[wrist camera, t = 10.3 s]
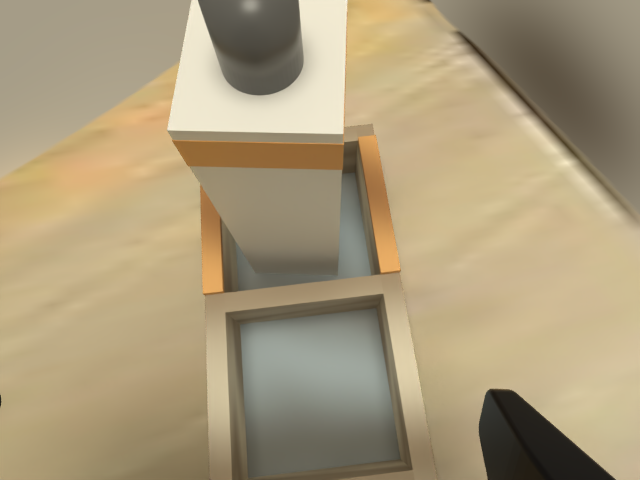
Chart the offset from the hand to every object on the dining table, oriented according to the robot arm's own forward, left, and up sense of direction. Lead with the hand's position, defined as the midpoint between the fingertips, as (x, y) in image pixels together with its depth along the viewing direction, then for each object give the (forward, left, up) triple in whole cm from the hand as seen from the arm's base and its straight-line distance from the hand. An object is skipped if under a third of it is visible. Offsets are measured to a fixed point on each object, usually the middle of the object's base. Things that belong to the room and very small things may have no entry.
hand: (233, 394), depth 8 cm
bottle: (+8, -1, -12) cm, 14 cm away
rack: (+4, -1, -13) cm, 14 cm away
